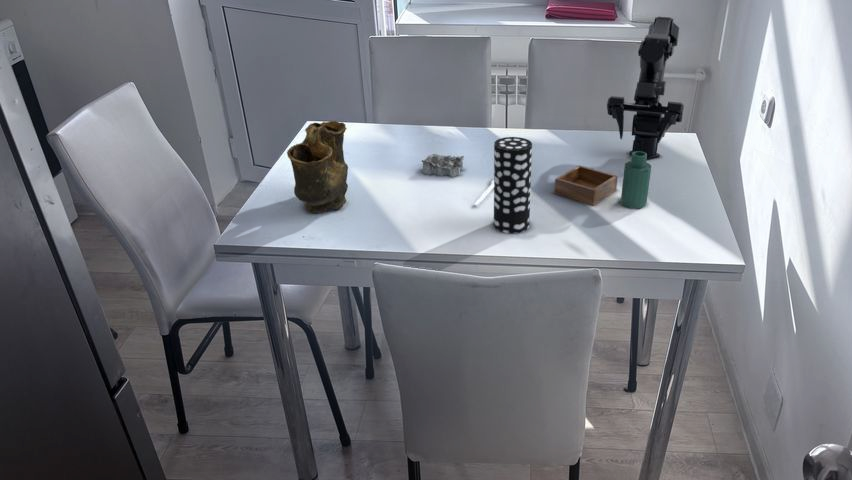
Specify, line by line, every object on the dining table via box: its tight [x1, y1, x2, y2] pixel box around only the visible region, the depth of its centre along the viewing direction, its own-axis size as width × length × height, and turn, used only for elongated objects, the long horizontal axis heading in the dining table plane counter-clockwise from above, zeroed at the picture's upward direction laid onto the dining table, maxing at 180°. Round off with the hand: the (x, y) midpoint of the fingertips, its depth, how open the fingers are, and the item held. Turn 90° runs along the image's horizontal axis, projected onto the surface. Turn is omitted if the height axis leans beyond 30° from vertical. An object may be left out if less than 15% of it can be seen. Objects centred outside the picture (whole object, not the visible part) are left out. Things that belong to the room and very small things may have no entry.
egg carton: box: [421, 153, 464, 178], centre depth 190 cm, size 11×8×4 cm
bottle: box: [620, 151, 652, 209], centre depth 171 cm, size 6×6×13 cm
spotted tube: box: [493, 136, 533, 234], centre depth 158 cm, size 8×8×20 cm
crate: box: [553, 164, 619, 206], centre depth 179 cm, size 12×12×4 cm
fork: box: [473, 178, 494, 207], centre depth 179 cm, size 3×20×2 cm, turn 160°
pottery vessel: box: [286, 120, 349, 214], centre depth 167 cm, size 25×11×20 cm, turn 178°
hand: (639, 140), depth 175 cm, fingers open, 9 cm apart
